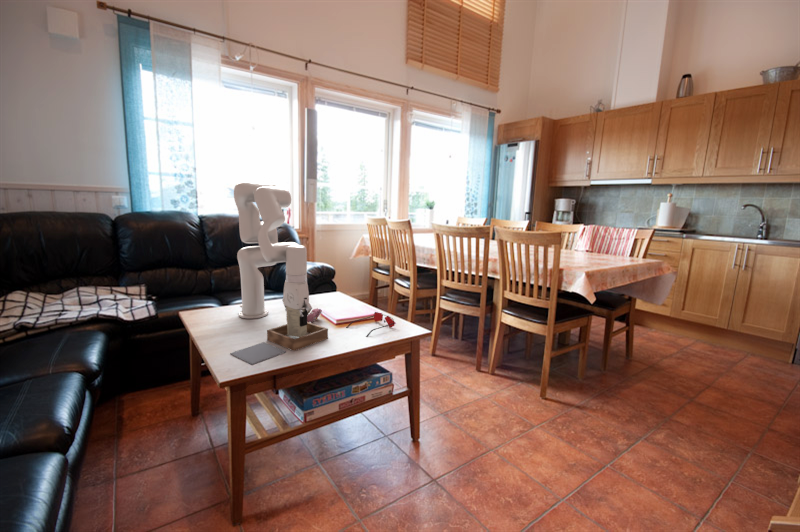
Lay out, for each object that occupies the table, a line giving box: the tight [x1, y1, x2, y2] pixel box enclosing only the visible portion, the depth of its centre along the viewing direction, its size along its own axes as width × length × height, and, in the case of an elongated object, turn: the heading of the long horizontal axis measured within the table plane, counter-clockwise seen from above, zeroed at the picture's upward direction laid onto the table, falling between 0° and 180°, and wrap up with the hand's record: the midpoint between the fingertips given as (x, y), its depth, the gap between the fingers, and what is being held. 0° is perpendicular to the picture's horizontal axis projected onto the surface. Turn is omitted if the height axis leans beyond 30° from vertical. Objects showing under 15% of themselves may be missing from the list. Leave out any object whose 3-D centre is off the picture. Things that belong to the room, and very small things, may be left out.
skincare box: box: [286, 305, 308, 338], centre depth 139 cm, size 6×4×12 cm
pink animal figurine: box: [307, 307, 322, 324], centre depth 160 cm, size 10×5×7 cm, turn 169°
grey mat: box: [230, 341, 286, 366], centre depth 126 cm, size 13×13×1 cm
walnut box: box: [266, 322, 329, 352], centre depth 140 cm, size 16×16×4 cm
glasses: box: [345, 311, 397, 338], centre depth 154 cm, size 14×16×5 cm
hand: (296, 322), depth 139 cm, fingers closed on skincare box, 7 cm apart
